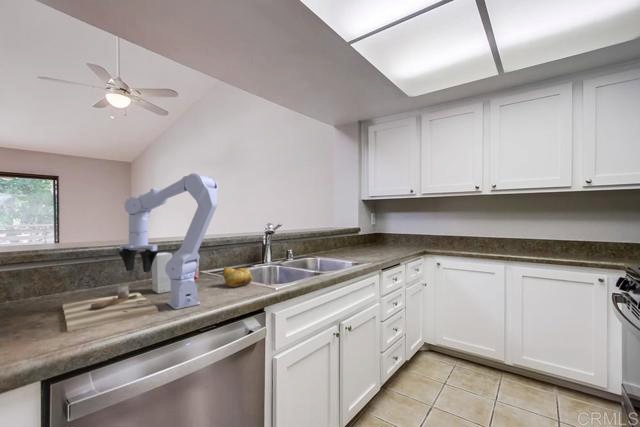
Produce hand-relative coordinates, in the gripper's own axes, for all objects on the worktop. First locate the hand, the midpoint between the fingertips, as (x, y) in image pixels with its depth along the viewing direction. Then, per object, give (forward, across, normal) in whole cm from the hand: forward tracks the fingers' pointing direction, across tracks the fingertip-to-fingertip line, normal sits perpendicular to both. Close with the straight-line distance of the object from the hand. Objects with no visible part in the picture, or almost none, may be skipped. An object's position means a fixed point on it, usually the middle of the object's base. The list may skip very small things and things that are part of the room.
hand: (138, 270), depth 101 cm
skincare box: (+11, -3, +13) cm, 17 cm away
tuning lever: (+9, -1, -7) cm, 12 cm away
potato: (+11, +21, +30) cm, 39 cm away
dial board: (+10, 0, -10) cm, 15 cm away
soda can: (+11, -4, +30) cm, 32 cm away
